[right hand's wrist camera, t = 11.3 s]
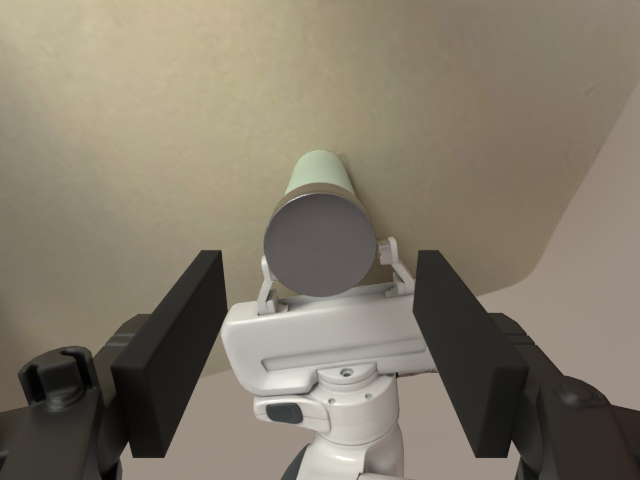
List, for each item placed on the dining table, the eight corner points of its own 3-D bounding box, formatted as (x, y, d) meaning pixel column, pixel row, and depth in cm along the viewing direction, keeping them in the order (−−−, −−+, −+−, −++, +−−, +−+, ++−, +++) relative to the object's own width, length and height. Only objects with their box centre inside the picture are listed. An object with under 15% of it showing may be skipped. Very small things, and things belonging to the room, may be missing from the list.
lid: (250, 242, 20) (242, 260, 18) (307, 160, 19) (306, 169, 16) (330, 293, 21) (331, 315, 19) (390, 220, 20) (399, 236, 17)
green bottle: (283, 182, 34) (251, 255, 18) (313, 138, 33) (307, 175, 17) (325, 212, 35) (330, 305, 19) (357, 170, 34) (390, 234, 18)
